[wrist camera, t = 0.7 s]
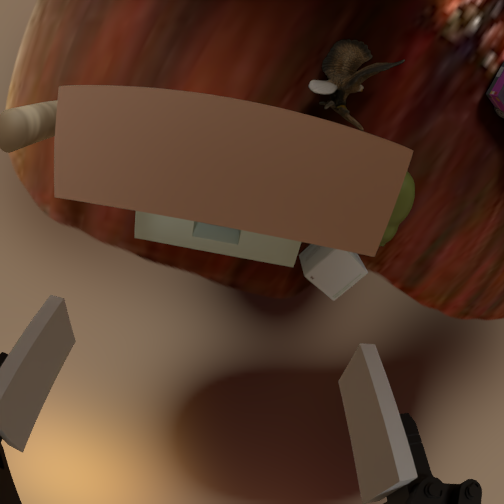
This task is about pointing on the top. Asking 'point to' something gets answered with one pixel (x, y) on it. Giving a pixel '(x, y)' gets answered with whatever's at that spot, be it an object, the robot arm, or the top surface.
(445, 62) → the top surface
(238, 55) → the top surface
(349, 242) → the beige arch frame
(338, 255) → the small box
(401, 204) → the pear
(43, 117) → the peg
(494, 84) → the toy truck
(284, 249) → the socket board
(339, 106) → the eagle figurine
